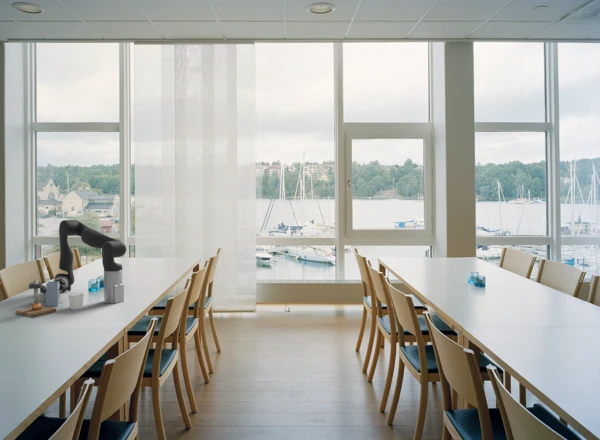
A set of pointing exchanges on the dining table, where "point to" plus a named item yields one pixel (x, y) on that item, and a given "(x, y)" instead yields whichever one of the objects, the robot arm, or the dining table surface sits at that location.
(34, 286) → the ring
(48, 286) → the sleeve
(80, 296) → the white cup
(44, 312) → the post stand
